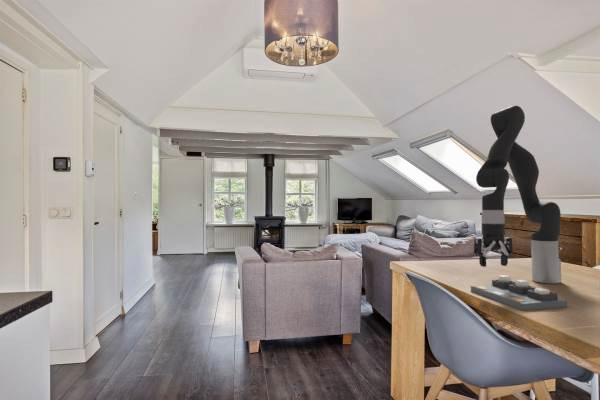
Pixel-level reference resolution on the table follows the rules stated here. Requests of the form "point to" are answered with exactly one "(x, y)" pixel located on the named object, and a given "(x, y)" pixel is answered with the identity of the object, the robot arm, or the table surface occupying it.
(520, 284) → the button
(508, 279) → the button
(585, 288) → the table surface
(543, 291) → the button
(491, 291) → the switch panel
